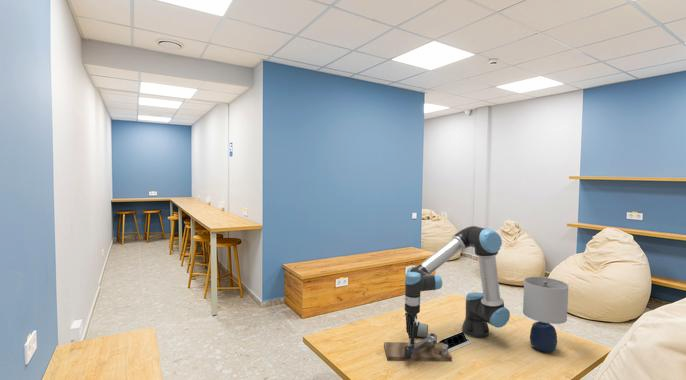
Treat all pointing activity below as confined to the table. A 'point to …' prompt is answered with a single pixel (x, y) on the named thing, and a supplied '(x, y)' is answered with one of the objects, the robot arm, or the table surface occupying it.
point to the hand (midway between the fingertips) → (411, 349)
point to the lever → (420, 345)
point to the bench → (425, 354)
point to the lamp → (545, 309)
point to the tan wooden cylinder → (438, 348)
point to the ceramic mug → (422, 330)
